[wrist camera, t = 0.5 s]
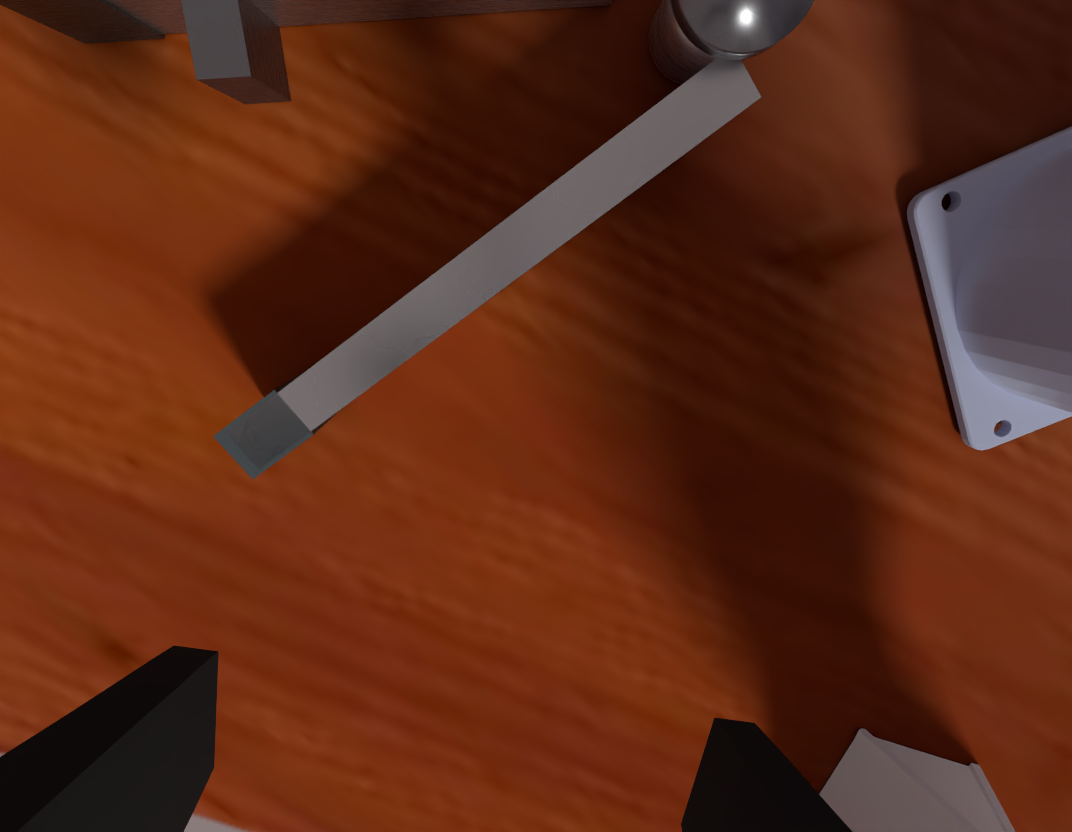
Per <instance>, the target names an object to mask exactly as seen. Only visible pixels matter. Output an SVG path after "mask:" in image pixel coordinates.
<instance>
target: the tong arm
mask: <svg viewBox="0 0 1072 832" xmlns="http://www.w3.org/2000/svg"><path fill="white" fill-rule="evenodd" d="M649 48H650V53H651V56H652V59H653V61H654V63H655V65H656V67H657V68H658V70H659V71H660V72H661V73H662V75H664V76H665V77H666V78H667V79H669V80H670V81H672V82H674V83H676V84H680V85H681V86H680V87H678V88H677V89H676V90H674V91H673V92H672V93H670V94H669V95H668V96H666V97H665V98H664V99H663V100H661V101H660V102H659V103H657V104H656V105H655V106H653V107H652V108H651V109H649V110H648V111H647V112H645V113H644V114H643V115H642V116H640V117H639V118H638V119H636V120H635V121H634V122H632V123H631V124H630V125H628V126H627V127H626V128H624V129H623V130H622V131H621V132H619V133H618V134H617V135H615V136H614V137H613V138H611V139H610V140H609V141H607V142H606V143H605V144H603V145H602V146H601V147H600V148H598V149H597V150H596V151H594V152H593V153H592V154H590V155H589V156H588V157H586V158H585V159H584V160H582V161H581V162H580V163H579V164H577V165H576V166H575V167H573V168H572V169H571V170H569V171H568V172H567V173H565V174H564V175H563V176H561V177H560V178H559V179H558V180H556V181H555V182H554V183H552V184H551V185H550V186H548V187H547V188H546V189H544V190H543V191H542V192H540V193H539V194H538V195H537V196H535V197H534V198H533V199H531V200H530V201H529V202H527V203H526V204H525V205H523V206H522V207H521V208H519V209H518V210H517V211H516V212H514V213H513V214H512V215H510V216H509V217H508V218H506V219H505V220H504V221H502V222H501V223H500V224H498V225H497V226H496V227H495V228H493V229H492V230H491V231H489V232H488V233H487V234H485V235H484V236H483V237H481V238H480V239H479V240H477V241H476V242H475V243H474V244H472V245H471V246H470V247H468V248H467V249H466V250H464V251H463V252H462V253H460V254H459V255H458V256H456V257H455V258H454V259H453V260H451V261H450V262H449V263H447V264H446V265H445V266H443V267H442V268H441V269H439V270H438V271H437V272H435V273H434V274H433V275H432V276H430V277H429V278H428V279H426V280H425V281H424V282H422V283H421V284H420V285H418V286H417V287H416V288H414V289H413V290H412V291H411V292H409V293H408V294H407V295H405V296H404V297H403V298H401V299H400V300H399V301H397V302H396V303H395V304H393V305H392V306H391V307H390V308H388V309H387V310H386V311H384V312H383V313H382V314H380V315H379V316H378V317H376V318H375V319H374V320H372V321H371V322H370V323H369V324H367V325H366V326H365V327H363V328H362V329H361V330H359V331H358V332H357V333H355V334H354V335H353V336H351V337H350V338H349V339H348V340H346V341H345V342H344V343H342V344H341V345H340V346H338V347H337V348H336V349H334V350H333V351H332V352H330V353H329V354H328V355H327V356H325V357H324V358H323V359H321V360H320V361H319V362H317V363H316V364H315V365H313V366H312V367H311V368H309V369H308V370H307V371H305V372H304V373H302V374H300V375H298V376H297V377H295V378H293V379H292V380H290V381H288V382H287V383H285V384H283V385H282V386H280V387H278V388H277V389H275V390H273V391H272V392H271V393H270V394H268V395H267V396H266V397H264V398H263V399H262V400H260V401H259V402H258V403H256V404H255V405H254V406H252V407H251V408H250V409H249V410H247V411H246V412H245V413H243V414H242V415H241V416H239V417H238V418H237V419H235V420H234V421H233V422H232V423H230V424H229V425H228V426H226V427H225V428H224V429H222V430H221V431H220V432H218V433H217V434H216V435H215V436H213V437H214V438H215V439H216V440H217V441H218V442H219V443H220V444H221V445H222V446H223V448H224V449H225V450H226V451H227V452H228V453H229V454H230V455H231V456H232V457H233V458H234V459H235V461H236V462H237V463H238V464H239V465H240V466H241V467H242V468H243V469H244V470H245V471H246V472H247V473H248V475H249V476H250V477H251V478H252V479H254V478H255V477H257V476H258V475H259V474H261V473H262V472H264V471H265V470H266V469H268V468H269V467H270V466H272V465H273V464H274V463H276V462H277V461H278V460H280V459H281V458H282V457H284V456H285V455H287V454H288V453H289V452H291V451H292V450H293V449H295V448H296V447H297V446H299V445H300V444H301V443H303V442H304V441H305V440H307V439H308V438H309V437H311V436H312V435H314V434H315V433H316V432H317V431H318V430H319V429H320V428H321V427H322V426H323V425H324V424H325V423H327V422H328V421H329V420H330V419H331V418H332V417H333V416H334V415H335V414H336V413H337V412H338V411H340V410H341V409H342V408H343V407H344V406H346V405H347V404H348V403H350V402H351V401H352V400H354V399H355V398H356V397H358V396H359V395H360V394H362V393H363V392H365V391H366V390H367V389H369V388H370V387H371V386H373V385H374V384H375V383H377V382H378V381H379V380H381V379H382V378H383V377H385V376H386V375H387V374H389V373H390V372H391V371H393V370H394V369H396V368H397V367H398V366H400V365H401V364H402V363H404V362H405V361H406V360H408V359H409V358H410V357H412V356H413V355H414V354H416V353H417V352H418V351H420V350H421V349H423V348H424V347H425V346H427V345H428V344H429V343H431V342H432V341H433V340H435V339H436V338H437V337H439V336H440V335H441V334H443V333H444V332H445V331H447V330H448V329H449V328H451V327H452V326H454V325H455V324H456V323H458V322H459V321H460V320H462V319H463V318H464V317H466V316H467V315H468V314H470V313H471V312H472V311H474V310H475V309H476V308H478V307H479V306H480V305H482V304H483V303H485V302H486V301H487V300H489V299H490V298H491V297H493V296H494V295H495V294H497V293H498V292H499V291H501V290H502V289H503V288H505V287H506V286H507V285H509V284H510V283H511V282H513V281H514V280H516V279H517V278H518V277H520V276H521V275H522V274H524V273H525V272H526V271H528V270H529V269H530V268H532V267H533V266H534V265H536V264H537V263H538V262H540V261H541V260H542V259H544V258H545V257H547V256H548V255H549V254H551V253H552V252H553V251H555V250H556V249H557V248H559V247H560V246H561V245H563V244H564V243H565V242H567V241H568V240H569V239H571V238H572V237H573V236H575V235H576V234H578V233H579V232H580V231H582V230H583V229H584V228H586V227H587V226H588V225H590V224H591V223H592V222H594V221H595V220H596V219H598V218H599V217H600V216H602V215H603V214H604V213H606V212H607V211H609V210H610V209H611V208H613V207H614V206H615V205H617V204H618V203H619V202H621V201H622V200H623V199H625V198H626V197H627V196H629V195H630V194H631V193H633V192H634V191H635V190H637V189H638V188H640V187H641V186H642V185H644V184H645V183H646V182H648V181H649V180H650V179H652V178H653V177H654V176H656V175H657V174H658V173H660V172H661V171H662V170H664V169H665V168H666V167H668V166H669V165H671V164H672V163H673V162H675V161H676V160H677V159H679V158H680V157H681V156H683V155H684V154H685V153H687V152H688V151H689V150H691V149H692V148H693V147H695V146H696V145H697V144H699V143H700V142H702V141H703V140H704V139H706V138H707V137H708V136H710V135H711V134H712V133H714V132H715V131H716V130H718V129H719V128H720V127H722V126H723V125H724V124H726V123H727V122H728V121H730V120H731V119H733V118H734V117H735V116H737V115H738V114H739V113H741V112H742V111H743V110H745V109H746V108H747V107H749V106H750V105H751V104H753V103H754V102H755V101H757V100H758V99H759V98H761V95H760V94H759V92H758V90H757V88H756V86H755V84H754V83H753V81H752V79H751V77H750V75H749V73H748V72H747V70H746V68H745V66H744V64H743V62H742V61H741V59H740V60H726V59H719V58H716V57H713V56H710V55H708V54H706V53H704V52H703V51H701V50H700V49H698V48H697V47H695V46H694V45H693V44H692V43H691V42H690V41H689V40H688V39H687V37H686V36H685V35H684V34H683V32H682V30H681V29H680V27H679V25H678V23H677V21H676V19H675V16H674V13H673V10H672V7H671V1H670V0H663V1H662V3H661V4H660V6H659V8H658V10H657V11H656V13H655V15H654V17H653V20H652V23H651V26H650V32H649Z"/></svg>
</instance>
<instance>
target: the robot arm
mask: <svg viewBox="0 0 1072 832" xmlns="http://www.w3.org/2000/svg"><path fill="white" fill-rule="evenodd" d="M945 194H949V196H950V198H951V204H950V206H949V208H948V209H947V210H946V211H945V210H944V209H943V207H942V199H943V197H944V195H945ZM907 219H908V223H909V227H910V231H911V235H912V239H913V243H914V247H915V251H916V255H917V259H918V263H919V267H920V272H921V276H922V280H923V284H924V288H925V292H926V296H927V300H928V304H929V308H930V312H931V316H932V320H933V324H934V328H935V332H936V336H937V340H938V344H939V348H940V352H941V356H942V360H943V364H944V368H945V373H946V377H947V381H948V385H949V389H950V393H951V397H952V401H953V405H954V409H955V413H956V417H957V421H958V425H959V429H960V433H961V437H962V440H963V441H964V443H965V444H967V445H968V446H970V447H972V448H974V449H977V450H986V449H990V448H992V447H995V446H997V445H1000V444H1002V443H1005V442H1007V441H1010V440H1012V439H1015V438H1017V437H1020V436H1023V435H1025V434H1028V433H1030V432H1033V431H1035V430H1038V429H1040V428H1043V427H1045V426H1048V425H1050V424H1053V423H1055V422H1058V421H1061V420H1063V419H1066V418H1068V417H1071V416H1072V126H1071V127H1069V128H1066V129H1064V130H1062V131H1060V132H1057V133H1055V134H1053V135H1050V136H1048V137H1046V138H1044V139H1041V140H1039V141H1037V142H1034V143H1032V144H1030V145H1028V146H1025V147H1023V148H1021V149H1018V150H1016V151H1014V152H1012V153H1009V154H1007V155H1005V156H1002V157H1000V158H998V159H996V160H993V161H991V162H989V163H987V164H984V165H982V166H980V167H977V168H975V169H973V170H971V171H968V172H966V173H964V174H961V175H959V176H957V177H955V178H952V179H950V180H948V181H945V182H943V183H941V184H939V185H936V186H934V187H932V188H929V189H927V190H925V191H923V192H920V193H919V194H917V195H916V196H914V198H913V199H912V200H911V201H910V203H909V205H908V209H907ZM1000 421H1001V426H1000V428H999V430H997V431H996V432H994V427H995V425H996V424H997V423H998V422H1000ZM217 674H218V651H210V650H203V649H195V648H188V647H180V646H173V647H171V648H169V649H168V650H166V651H165V652H163V653H161V654H160V655H158V656H157V657H155V658H153V659H152V660H150V661H149V662H147V663H146V664H144V665H143V666H141V667H140V668H138V669H137V670H135V671H133V672H132V673H130V674H129V675H127V676H126V677H124V678H123V679H121V680H120V681H118V682H117V683H115V684H114V685H112V686H110V687H109V688H107V689H106V690H104V691H103V692H101V693H100V694H98V695H97V696H95V697H94V698H92V699H90V700H89V701H87V702H86V703H84V704H83V705H81V706H80V707H78V708H77V709H75V710H74V711H72V712H70V713H69V714H67V715H66V716H64V717H63V718H61V719H60V720H58V721H56V722H55V723H53V724H52V725H50V726H49V727H47V728H45V729H44V730H42V731H41V732H39V733H37V734H36V735H34V736H33V737H31V738H30V739H28V740H26V741H25V742H23V743H22V744H20V745H18V746H17V747H15V748H14V749H12V750H11V751H9V752H7V753H6V754H4V755H3V756H1V757H0V832H184V829H185V828H186V825H187V824H188V821H189V819H190V817H191V815H192V813H193V811H194V809H195V807H196V805H197V803H198V801H199V799H200V796H201V794H202V792H203V790H204V788H205V786H206V784H207V781H208V779H209V777H210V775H211V773H212V771H213V768H214V754H215V727H216V701H217ZM681 826H682V832H852V830H851V829H850V828H849V827H848V826H847V825H846V824H845V823H844V822H843V820H842V819H841V818H840V817H839V816H838V815H837V814H836V813H835V812H834V810H833V809H832V808H831V807H830V806H829V805H828V804H827V803H826V802H825V800H824V799H823V798H822V797H821V796H820V795H819V794H818V793H817V791H816V790H815V789H814V788H813V787H812V786H811V785H810V784H809V782H808V781H807V780H806V779H805V778H804V777H803V776H802V775H801V773H800V772H799V771H798V770H797V769H796V768H795V767H794V766H793V765H792V763H791V762H790V761H789V760H788V759H787V758H786V757H785V756H784V754H783V753H782V752H781V751H780V750H779V749H778V748H777V747H776V746H775V744H774V743H773V742H772V741H771V740H770V739H769V738H768V737H767V736H766V735H765V734H764V733H763V732H762V731H761V729H760V728H759V727H758V726H757V725H756V724H755V723H750V722H743V721H735V720H728V719H720V718H714V721H713V724H712V728H711V731H710V734H709V737H708V740H707V743H706V747H705V750H704V753H703V756H702V759H701V762H700V766H699V769H698V772H697V775H696V778H695V781H694V785H693V788H692V791H691V794H690V797H689V800H688V804H687V807H686V810H685V813H684V816H683V819H682V823H681Z"/></svg>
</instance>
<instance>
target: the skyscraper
mask: <svg viewBox="0 0 1072 832" xmlns="http://www.w3.org/2000/svg"><path fill="white" fill-rule="evenodd" d="M819 795H820V796H821V797H822V798H823V799H824V800H825V802H826V803H827V804H828V805H829V806H830V807H831V808H832V809H833V810H834V812H835V813H836V814H837V815H838V816H839V817H840V818H841V819H842V820H843V822H844V823H845V824H846V825H847V826H848V827H849V828H850V829H851V830H852V832H1015V830H1014V829H1013V827H1012V825H1011V823H1010V821H1009V819H1008V817H1007V816H1006V814H1005V812H1004V810H1003V808H1002V806H1001V805H1000V803H999V801H998V799H997V797H996V795H995V793H994V792H993V790H992V788H991V786H990V784H989V782H988V781H987V779H986V777H985V775H984V773H983V771H982V769H981V768H980V766H979V765H977V764H974V763H971V764H970V765H969V766H966V765H963V764H960V763H957V762H953V761H950V760H947V759H944V758H940V757H937V756H934V755H931V754H927V753H924V752H921V751H918V750H915V749H911V748H908V747H905V746H902V745H898V744H895V743H892V742H889V741H886V740H882V739H879V738H876V737H874V736H873V735H871V734H870V733H869V732H868V731H867V730H866V729H862V728H860V729H859V731H858V733H857V735H856V737H855V739H854V740H853V742H852V743H851V745H850V747H849V748H848V750H847V751H846V753H845V754H844V756H843V758H842V759H841V761H840V762H839V764H838V765H837V767H836V769H835V770H834V772H833V773H832V775H831V776H830V778H829V780H828V781H827V783H826V784H825V786H824V787H823V789H822V791H821V792H820V794H819Z"/></svg>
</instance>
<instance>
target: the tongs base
mask: <svg viewBox="0 0 1072 832" xmlns="http://www.w3.org/2000/svg"><path fill="white" fill-rule="evenodd" d="M670 1H671V7H672V10H673V13H674V16H675V19H676V21H677V23H678V25H679V27H680V29H681V30H682V32H683V34H684V35H685V36H686V37H687V39H688V40H689V41H690V42H691V43H692V44H693V45H694V46H695V47H697V48H698V49H700V50H701V51H703V52H704V53H706V54H708V55H710V56H713V57H716V58H719V59H726V60H740V59H747V58H750V57H754V56H756V55H758V54H761V53H763V52H765V51H766V50H768V49H769V48H771V47H772V46H774V45H775V44H776V43H777V42H779V41H780V40H781V39H783V38H784V37H785V36H786V35H788V34H789V33H790V32H791V31H792V30H793V29H794V28H795V27H796V26H797V25H798V24H799V23H800V22H801V21H802V19H803V18H804V17H805V15H806V14H807V12H808V10H809V9H810V7H811V5H812V3H813V1H814V0H670ZM612 2H613V0H0V5H2V6H4V7H7V8H9V9H11V10H13V11H15V12H17V13H20V14H22V15H24V16H26V17H28V18H31V19H33V20H35V21H37V22H39V23H41V24H44V25H46V26H48V27H50V28H52V29H54V30H57V31H59V32H61V33H63V34H65V35H68V36H70V37H72V38H74V39H76V40H78V41H81V42H83V43H85V44H87V43H103V42H118V41H134V40H149V39H164V38H165V37H164V34H171V33H186V32H187V33H188V38H189V43H190V48H191V53H192V58H193V63H194V68H195V73H196V78H197V80H198V81H200V82H202V83H204V84H206V85H208V86H210V87H212V88H214V89H216V90H218V91H220V92H222V93H224V94H226V95H228V96H230V97H232V98H234V99H236V100H238V101H240V102H242V103H244V104H253V103H268V102H284V101H291V98H290V92H289V85H288V79H287V73H286V67H285V61H284V54H283V48H282V42H281V36H280V30H279V26H294V25H310V24H325V23H341V22H356V21H371V20H387V19H402V18H418V17H433V16H448V15H464V14H479V13H495V12H510V11H525V10H541V9H556V8H572V7H587V6H602V5H611V4H612Z"/></svg>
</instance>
